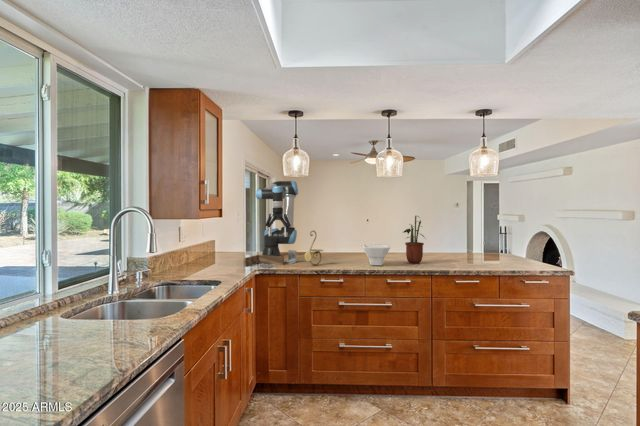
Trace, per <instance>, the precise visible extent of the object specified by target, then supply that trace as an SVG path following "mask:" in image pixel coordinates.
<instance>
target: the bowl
mask: <svg viewBox="0 0 640 426" xmlns="http://www.w3.org/2000/svg"><path fill="white" fill-rule="evenodd" d="M362 248H363V251H364V253H365V254H366V256H367V258H368V261H369V264H370V265H371V266H383V264H384V261H385V258H386V257H387V255H388V254H389V251H390V249H391V246H390V245H389V244H363V245H362Z"/></svg>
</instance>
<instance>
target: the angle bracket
mask: <svg viewBox="0 0 640 426" xmlns="http://www.w3.org/2000/svg"><path fill="white" fill-rule="evenodd" d="M287 254H288V255H287V257H288V259H287V260H286V261H285V260H284V265H293V263H294V264H296V263H297V250H292V249H289V250H288V251H287Z"/></svg>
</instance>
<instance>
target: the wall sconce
mask: <svg viewBox="0 0 640 426" xmlns="http://www.w3.org/2000/svg"><path fill="white" fill-rule="evenodd" d="M312 233H314V234H312ZM309 235H310V237H313V236H314V239H313V240H312V243H311V244H310V248H309V251H306V252H305V253H304V260H306V262H309V263H310V264H311V265H312V266H317V265H319V264H320V263H321V261H322V254H321V252H324V251H325V250H324V249H321V248H320V249H318V248H317V249H316V248H314V249H312V248H313V245H314V243H315V241H316V239H317V232H316V231H315V230H311V231H310V232H309ZM311 252H314V253H311ZM318 254H319V260H318V262H316V263H313V262H312V258H313V259H317V257H318Z"/></svg>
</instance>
